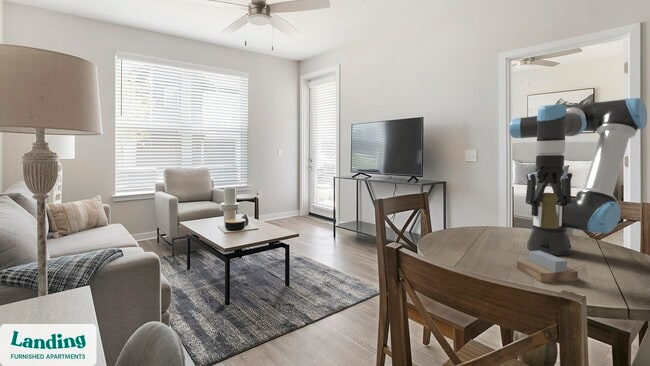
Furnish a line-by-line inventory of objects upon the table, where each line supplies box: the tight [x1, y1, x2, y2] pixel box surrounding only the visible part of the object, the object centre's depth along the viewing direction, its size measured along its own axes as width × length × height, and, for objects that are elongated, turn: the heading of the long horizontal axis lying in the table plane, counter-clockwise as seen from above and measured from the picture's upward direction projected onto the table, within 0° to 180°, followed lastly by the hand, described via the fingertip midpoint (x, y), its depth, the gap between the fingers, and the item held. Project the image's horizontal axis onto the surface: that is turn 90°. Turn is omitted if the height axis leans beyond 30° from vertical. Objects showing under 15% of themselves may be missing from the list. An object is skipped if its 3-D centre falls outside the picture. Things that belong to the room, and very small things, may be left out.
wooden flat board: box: [516, 259, 579, 283], centre depth 109 cm, size 12×12×4 cm
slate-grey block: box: [528, 250, 568, 273], centre depth 109 cm, size 4×11×4 cm, turn 8°
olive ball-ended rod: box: [540, 192, 558, 228], centre depth 107 cm, size 6×6×11 cm
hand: (547, 225), depth 107 cm, fingers closed on olive ball-ended rod, 6 cm apart
